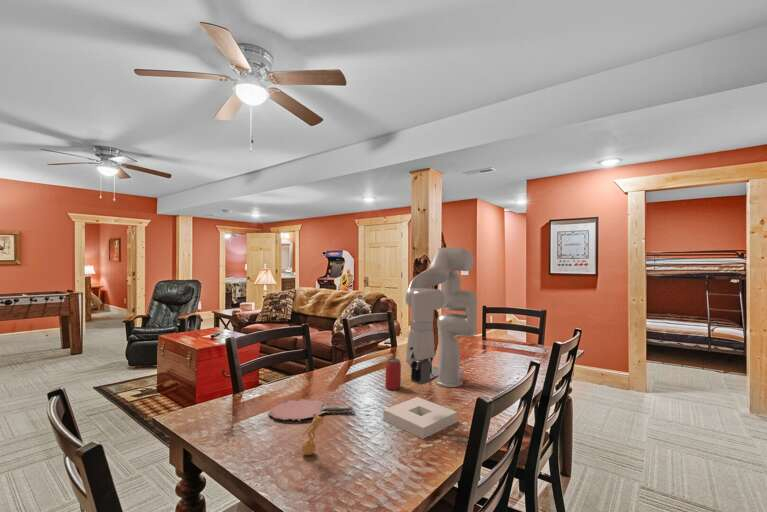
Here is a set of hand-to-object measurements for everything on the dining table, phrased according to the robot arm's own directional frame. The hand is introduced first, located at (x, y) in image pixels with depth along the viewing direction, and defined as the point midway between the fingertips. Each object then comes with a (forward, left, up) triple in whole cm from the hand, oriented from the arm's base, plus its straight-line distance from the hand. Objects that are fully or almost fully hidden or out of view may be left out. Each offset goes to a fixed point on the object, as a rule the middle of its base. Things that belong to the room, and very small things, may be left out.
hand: (420, 378), depth 126 cm
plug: (0, 0, -2) cm, 2 cm away
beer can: (-16, -29, -15) cm, 37 cm away
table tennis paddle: (+25, -31, -15) cm, 42 cm away
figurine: (+40, -6, -15) cm, 43 cm away
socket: (0, 0, -15) cm, 15 cm away
